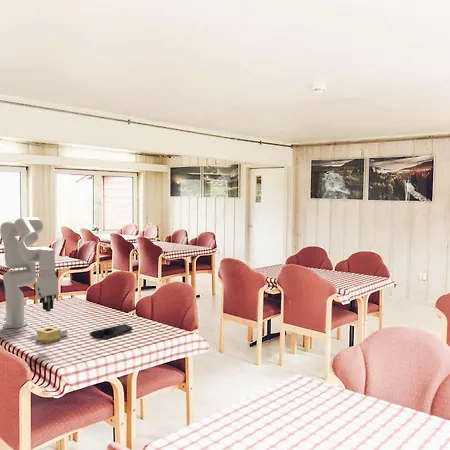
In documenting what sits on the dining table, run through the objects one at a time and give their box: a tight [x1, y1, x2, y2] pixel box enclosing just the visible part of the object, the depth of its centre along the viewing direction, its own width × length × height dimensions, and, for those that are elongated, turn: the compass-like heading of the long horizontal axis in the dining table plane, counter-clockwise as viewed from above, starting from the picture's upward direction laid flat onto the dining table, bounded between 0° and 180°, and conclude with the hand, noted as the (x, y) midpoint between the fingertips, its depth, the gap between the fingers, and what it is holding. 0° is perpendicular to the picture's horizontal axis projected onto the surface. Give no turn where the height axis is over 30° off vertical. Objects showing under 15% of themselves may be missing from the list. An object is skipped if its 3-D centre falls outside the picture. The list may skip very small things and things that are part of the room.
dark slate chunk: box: [89, 323, 133, 340], centre depth 263 cm, size 15×22×5 cm
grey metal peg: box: [45, 296, 52, 313], centre depth 244 cm, size 2×2×8 cm
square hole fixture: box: [26, 326, 72, 345], centre depth 249 cm, size 18×15×6 cm
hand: (48, 308), depth 245 cm, fingers closed on grey metal peg, 2 cm apart
